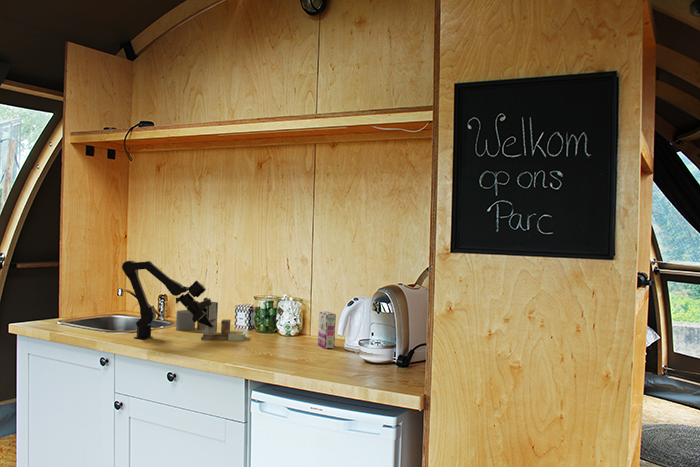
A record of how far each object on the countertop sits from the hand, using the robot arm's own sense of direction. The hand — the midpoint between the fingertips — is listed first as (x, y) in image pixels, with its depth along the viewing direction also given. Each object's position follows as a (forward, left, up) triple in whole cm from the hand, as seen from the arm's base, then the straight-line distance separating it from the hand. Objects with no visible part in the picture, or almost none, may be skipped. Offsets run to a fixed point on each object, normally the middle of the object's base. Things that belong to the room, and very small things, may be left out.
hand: (211, 326), depth 264 cm
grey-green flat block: (+10, +8, -6) cm, 14 cm away
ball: (+10, +8, -4) cm, 14 cm away
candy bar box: (+56, +18, -6) cm, 60 cm away
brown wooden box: (+5, +4, -6) cm, 9 cm away
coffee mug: (-30, +13, -6) cm, 33 cm away
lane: (+2, +2, -6) cm, 6 cm away
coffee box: (-15, +12, -6) cm, 20 cm away
